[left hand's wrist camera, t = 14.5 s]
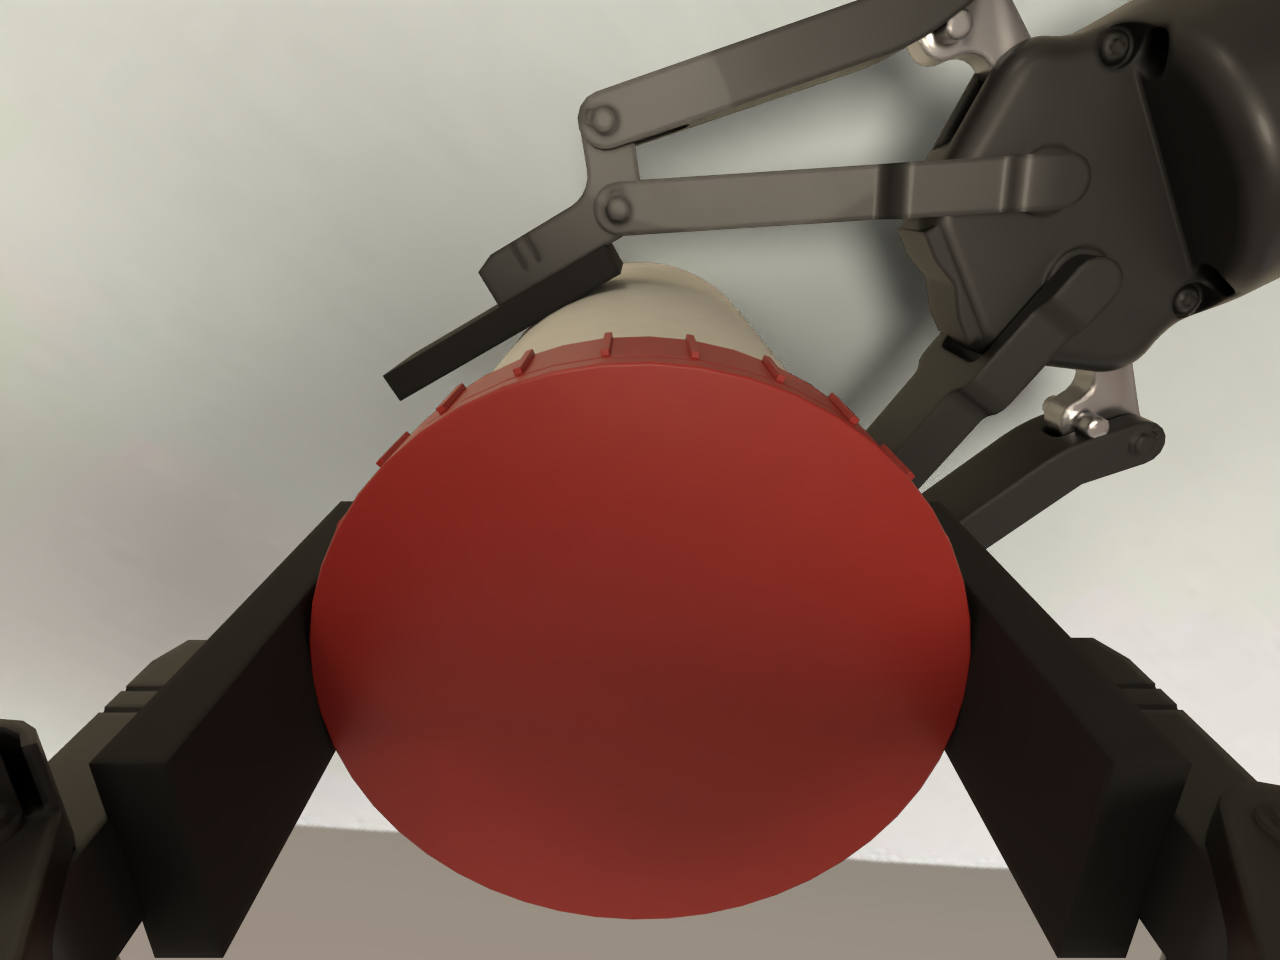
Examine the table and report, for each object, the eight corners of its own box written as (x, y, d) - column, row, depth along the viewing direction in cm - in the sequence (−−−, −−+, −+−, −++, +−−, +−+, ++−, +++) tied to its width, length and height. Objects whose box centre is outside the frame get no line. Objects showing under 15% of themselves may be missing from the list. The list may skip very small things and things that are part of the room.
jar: (682, 210, 24) (757, 245, 9) (802, 424, 27) (1022, 739, 11) (470, 348, 26) (220, 581, 10) (603, 536, 29) (561, 945, 13)
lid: (311, 322, 10) (250, 347, 9) (983, 340, 10) (1046, 368, 9) (379, 832, 14) (344, 917, 12) (885, 842, 14) (918, 928, 12)
